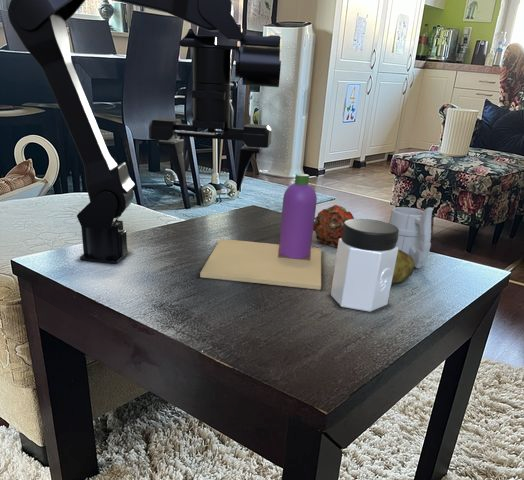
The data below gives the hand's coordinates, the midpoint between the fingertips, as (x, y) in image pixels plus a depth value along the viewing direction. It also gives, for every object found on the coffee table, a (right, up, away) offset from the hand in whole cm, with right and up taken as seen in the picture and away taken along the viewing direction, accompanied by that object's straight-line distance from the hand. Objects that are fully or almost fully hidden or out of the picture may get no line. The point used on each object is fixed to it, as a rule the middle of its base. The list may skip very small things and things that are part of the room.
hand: (210, 188), depth 88 cm
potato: (+29, -15, +5) cm, 33 cm away
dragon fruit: (+23, -5, +23) cm, 32 cm away
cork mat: (+9, -11, +8) cm, 17 cm away
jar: (+24, -19, -4) cm, 31 cm away
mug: (+36, -11, +13) cm, 39 cm away
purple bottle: (+15, -9, +12) cm, 21 cm away
